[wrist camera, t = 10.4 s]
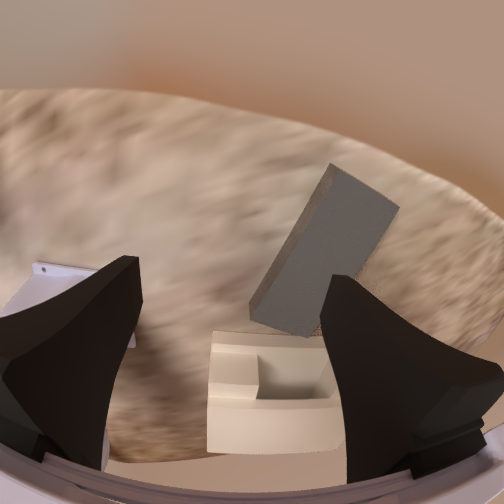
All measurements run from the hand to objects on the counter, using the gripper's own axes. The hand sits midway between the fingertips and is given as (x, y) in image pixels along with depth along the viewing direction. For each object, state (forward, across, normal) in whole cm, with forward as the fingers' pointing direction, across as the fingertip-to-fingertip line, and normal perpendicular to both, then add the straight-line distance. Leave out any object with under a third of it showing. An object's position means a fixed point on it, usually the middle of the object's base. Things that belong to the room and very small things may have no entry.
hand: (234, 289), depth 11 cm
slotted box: (+9, -6, +17) cm, 20 cm away
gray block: (+10, -6, +3) cm, 12 cm away
